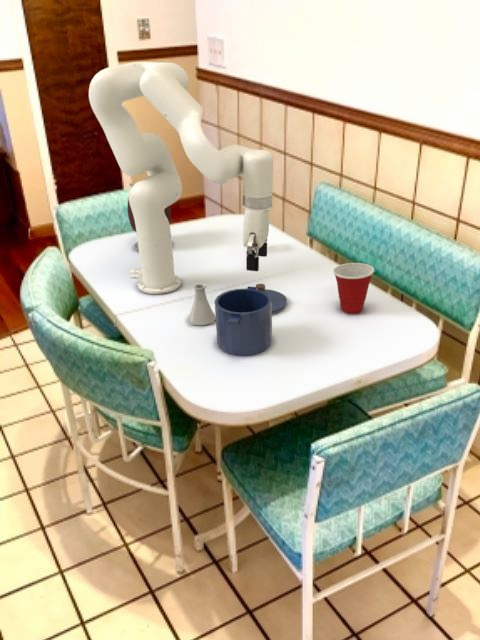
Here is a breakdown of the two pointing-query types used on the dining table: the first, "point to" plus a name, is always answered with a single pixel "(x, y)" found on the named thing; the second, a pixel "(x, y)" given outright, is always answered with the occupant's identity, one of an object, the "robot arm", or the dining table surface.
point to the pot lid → (274, 298)
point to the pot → (244, 321)
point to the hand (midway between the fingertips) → (256, 263)
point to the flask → (201, 307)
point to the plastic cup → (353, 285)
